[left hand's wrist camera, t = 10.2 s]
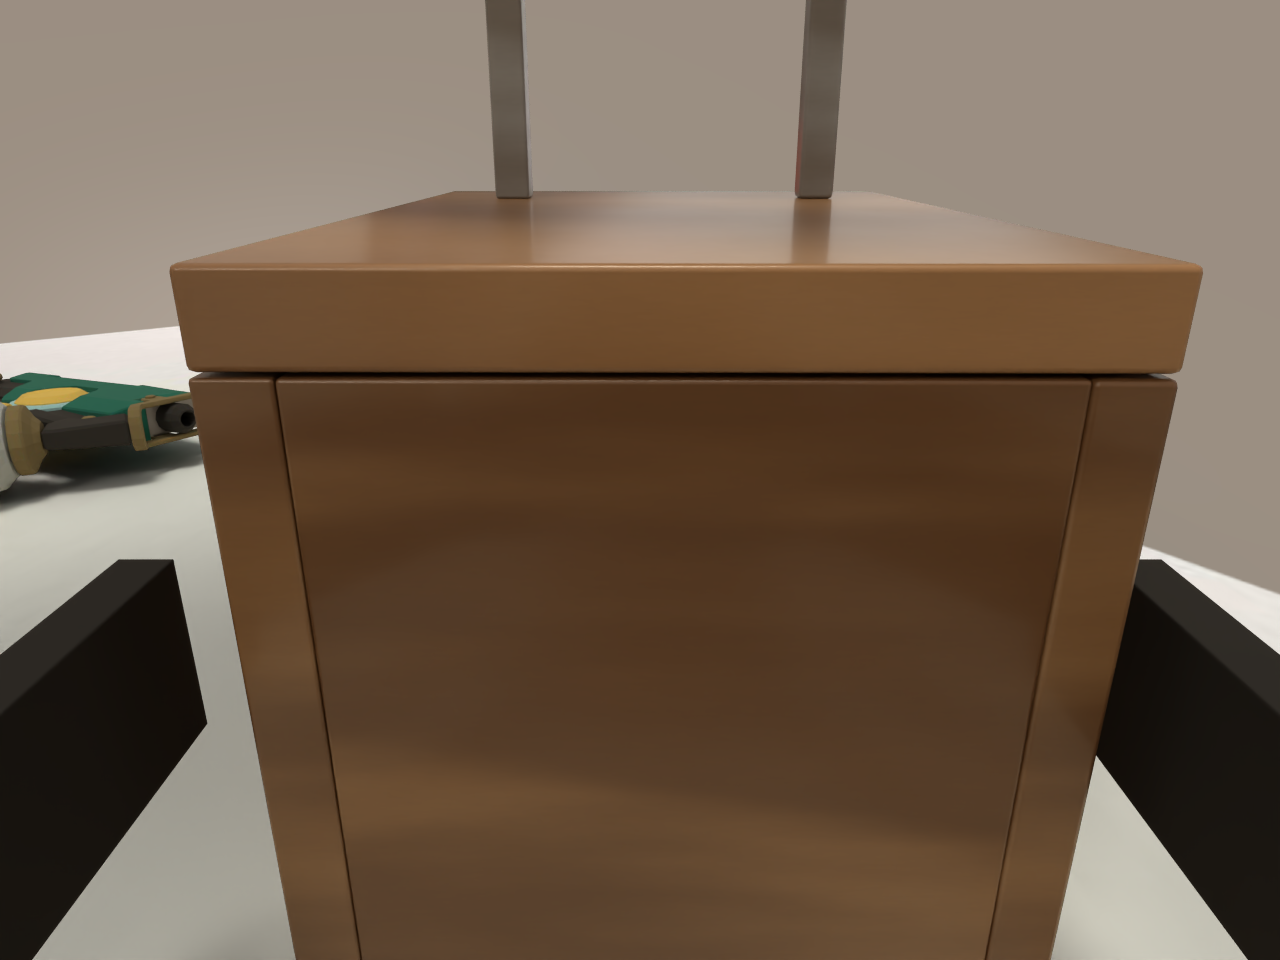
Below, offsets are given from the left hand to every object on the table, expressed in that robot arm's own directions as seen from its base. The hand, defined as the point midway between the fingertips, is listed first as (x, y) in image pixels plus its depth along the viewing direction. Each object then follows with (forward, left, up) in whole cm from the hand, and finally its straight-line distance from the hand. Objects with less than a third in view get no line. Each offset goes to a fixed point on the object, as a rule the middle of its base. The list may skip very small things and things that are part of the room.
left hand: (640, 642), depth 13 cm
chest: (+3, -3, -7) cm, 8 cm away
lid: (+3, -3, +5) cm, 6 cm away
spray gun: (+38, +8, -7) cm, 40 cm away
